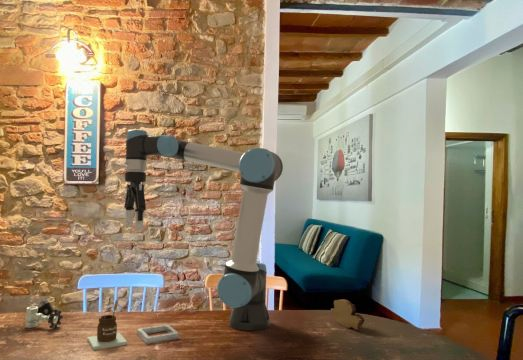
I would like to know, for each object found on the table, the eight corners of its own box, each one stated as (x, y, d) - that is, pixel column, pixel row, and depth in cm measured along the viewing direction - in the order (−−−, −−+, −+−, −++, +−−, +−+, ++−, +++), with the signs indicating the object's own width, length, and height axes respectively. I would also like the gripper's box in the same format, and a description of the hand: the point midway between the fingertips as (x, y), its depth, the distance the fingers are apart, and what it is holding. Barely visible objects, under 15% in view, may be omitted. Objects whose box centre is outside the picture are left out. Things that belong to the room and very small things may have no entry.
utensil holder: (93, 339, 136) (94, 301, 137) (111, 334, 141) (112, 298, 141) (102, 343, 132) (103, 304, 133) (120, 339, 137) (122, 301, 137)
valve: (19, 328, 148) (50, 331, 146) (20, 309, 148) (50, 312, 146) (33, 323, 154) (62, 325, 152) (33, 304, 155) (63, 307, 152)
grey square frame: (167, 329, 151) (167, 324, 151) (178, 338, 141) (179, 333, 141) (137, 334, 145) (137, 328, 145) (146, 344, 136) (146, 338, 136)
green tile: (119, 335, 143) (119, 332, 143) (126, 344, 135) (126, 341, 135) (87, 340, 138) (87, 336, 138) (93, 350, 130) (93, 346, 130)
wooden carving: (368, 332, 153) (368, 304, 154) (359, 334, 151) (359, 305, 151) (335, 320, 167) (336, 294, 167) (327, 322, 164) (327, 295, 165)
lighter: (31, 325, 160) (24, 312, 160) (34, 323, 162) (27, 310, 162) (52, 312, 160) (44, 299, 160) (54, 311, 162) (47, 298, 163)
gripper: (117, 172, 168) (115, 226, 167) (134, 169, 146) (132, 231, 146) (136, 173, 172) (134, 225, 171) (156, 170, 150) (154, 231, 150)
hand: (133, 228), depth 158 cm, fingers open, 13 cm apart
